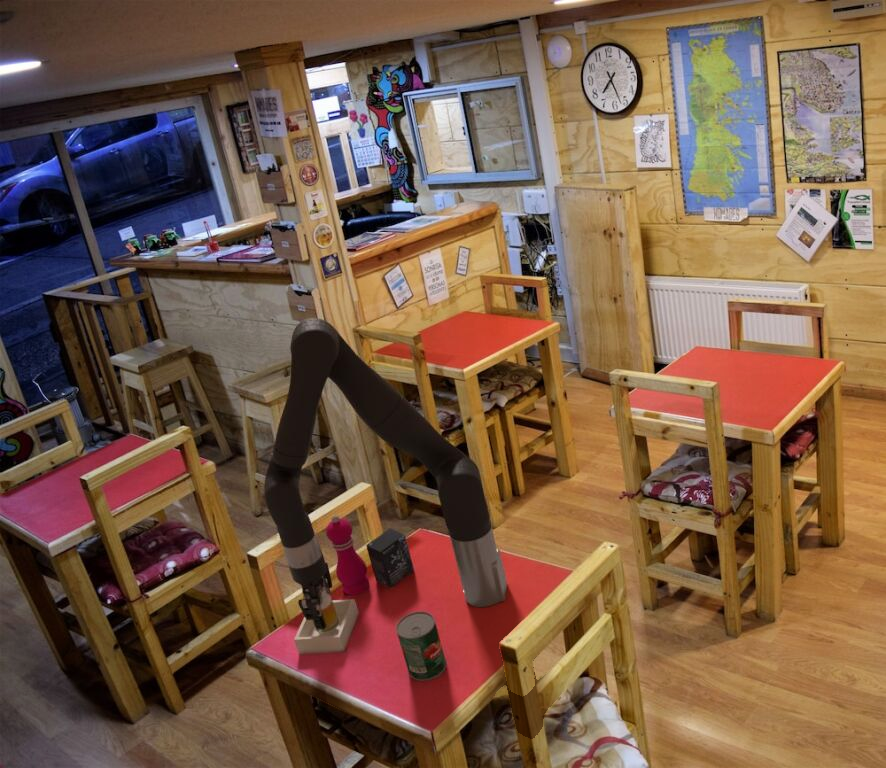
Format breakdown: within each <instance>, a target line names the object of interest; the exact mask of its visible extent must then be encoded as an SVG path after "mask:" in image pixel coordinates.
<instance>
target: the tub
mask: <svg viewBox="0 0 886 768" xmlns="http://www.w3.org/2000/svg"><path fill="white" fill-rule="evenodd" d="M332 602H333V605H334V608H335V611H336V614H337V617H338V620H339V625H338V627H337V628H336V629H335V630H334V631H332V632H330V633H326V634H320V633H318V632H317V631H316V630H315V627H314V624H313V621H312V620H306V618H305V616H304V617H303V619H302V622H301V624H300V625H299V628H298V629H297V633H296V635H295V637H294V638H293V641H294V643H295V647H296V649H297V652H298V655H308V654H311V655H312V654H327V653H328V654H329V653H330V654H331V653H345V652H346V649H347V646H348V643H349V641H350V638H351V636H352V633H353V630H354V627H355V625H356V622H357V620H358V616H359V614H360V613H359V610H358V609H359V608H358V606H357V603H356V600H355V598H353V599H352V598H351V599H338V600H337V599H334V600H332Z"/></svg>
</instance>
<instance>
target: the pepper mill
mask: <svg viewBox="0 0 886 768" xmlns="http://www.w3.org/2000/svg"><path fill="white" fill-rule="evenodd" d="M325 533H326V534H325V535H326V536H327V539H328V540H329V541H330V542H331V546H332V548H333V549H334V550H335V551H336V555H337V562H336V569H335V571H336V572H335V573H336V578H337V580H338V581H339V582H340V583H341V587H342V589H343V590H342V591H343V592H344V593H345V594H347V595H349V596H352V595H353V596H354V595H358V594H361V593H363V592H364V591H366V590H367V589H368V588H369V586H370V581H369V578H368V575H367V572H368V566H367V564H366V562H365V561H364V559H363V558H362V557H361V556H360V555H359V554H358V552H356V549H355V547H354V543H355V542H354V540H355V539H354V537H353V535H352V534H353V526H352V524H351V523H350V521H348V519H345V518H341V517H339V515H336V514H334V515H332V517H331V521H330V522H329V523H328V525H327V526H326V529H325Z"/></svg>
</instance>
